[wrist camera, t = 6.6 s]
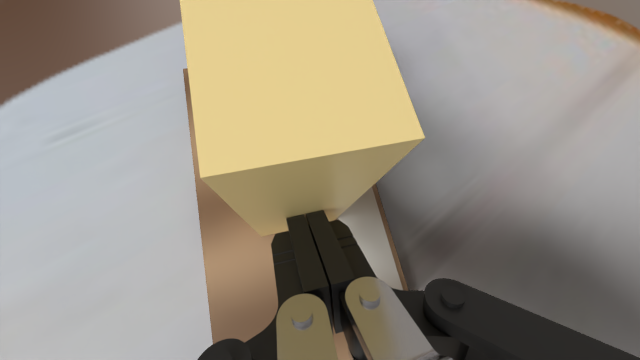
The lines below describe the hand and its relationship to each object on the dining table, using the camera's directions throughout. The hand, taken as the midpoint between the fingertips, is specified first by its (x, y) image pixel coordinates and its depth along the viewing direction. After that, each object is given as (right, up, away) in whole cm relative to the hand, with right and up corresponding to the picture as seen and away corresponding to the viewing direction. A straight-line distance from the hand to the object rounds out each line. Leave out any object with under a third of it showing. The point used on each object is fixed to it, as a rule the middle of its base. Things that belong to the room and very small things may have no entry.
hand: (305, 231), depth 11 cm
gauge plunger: (0, +3, +5) cm, 6 cm away
